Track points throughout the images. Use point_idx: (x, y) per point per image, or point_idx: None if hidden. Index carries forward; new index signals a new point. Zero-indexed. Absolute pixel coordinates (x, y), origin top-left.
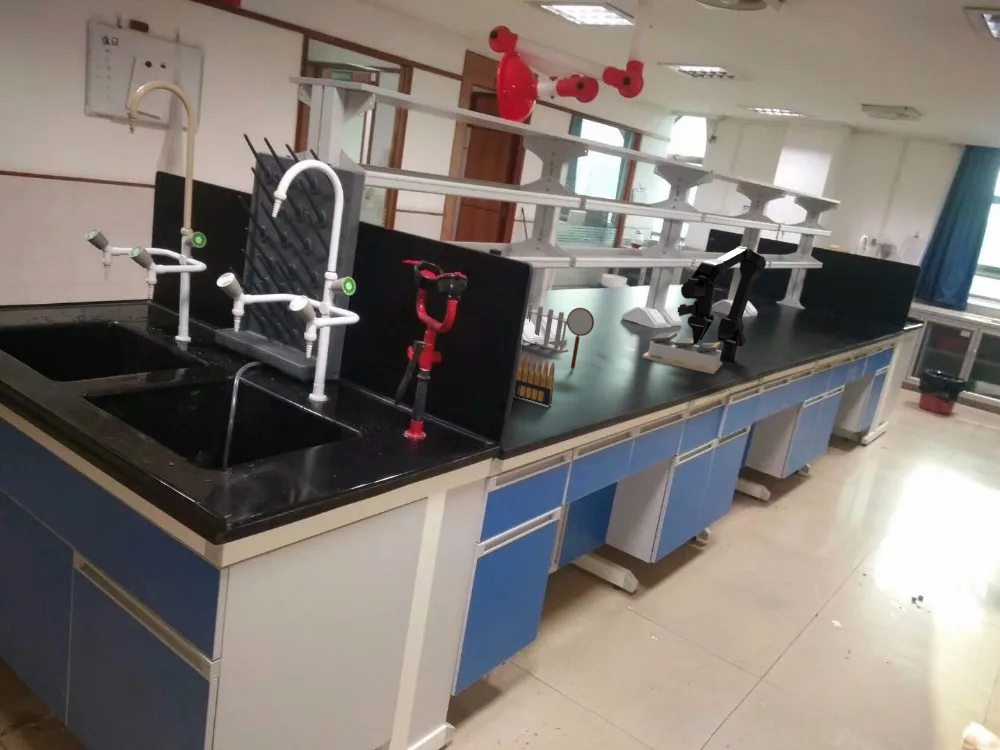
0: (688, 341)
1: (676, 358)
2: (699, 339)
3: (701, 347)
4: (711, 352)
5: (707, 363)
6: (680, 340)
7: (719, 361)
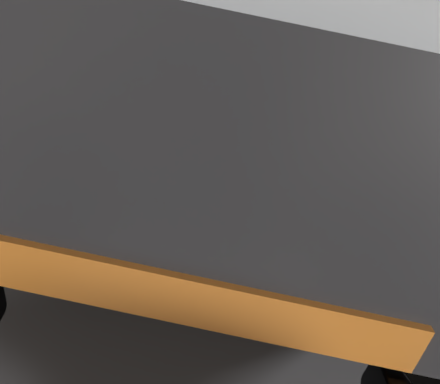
0: (101, 219)
1: None
2: (374, 372)
3: (39, 324)
4: None
5: None
6: (192, 76)
7: None
